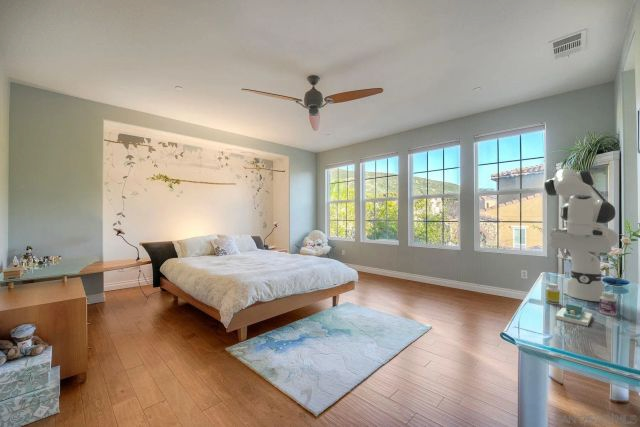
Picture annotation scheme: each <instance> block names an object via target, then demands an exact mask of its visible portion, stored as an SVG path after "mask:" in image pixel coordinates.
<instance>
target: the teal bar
mask: <svg viewBox="0 0 640 427" xmlns="http://www.w3.org/2000/svg"><path fill="white" fill-rule="evenodd" d="M575 304H576V303H569V302H567V303H566V304H565V308H566V311H565V313H564V317H569V318H573V319H577V320H580V318H581V317H582V315H583V314H584V312H585V309H583V305H580V304H577V305H575ZM570 310H573V311H575V315H572V314H570Z"/></svg>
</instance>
